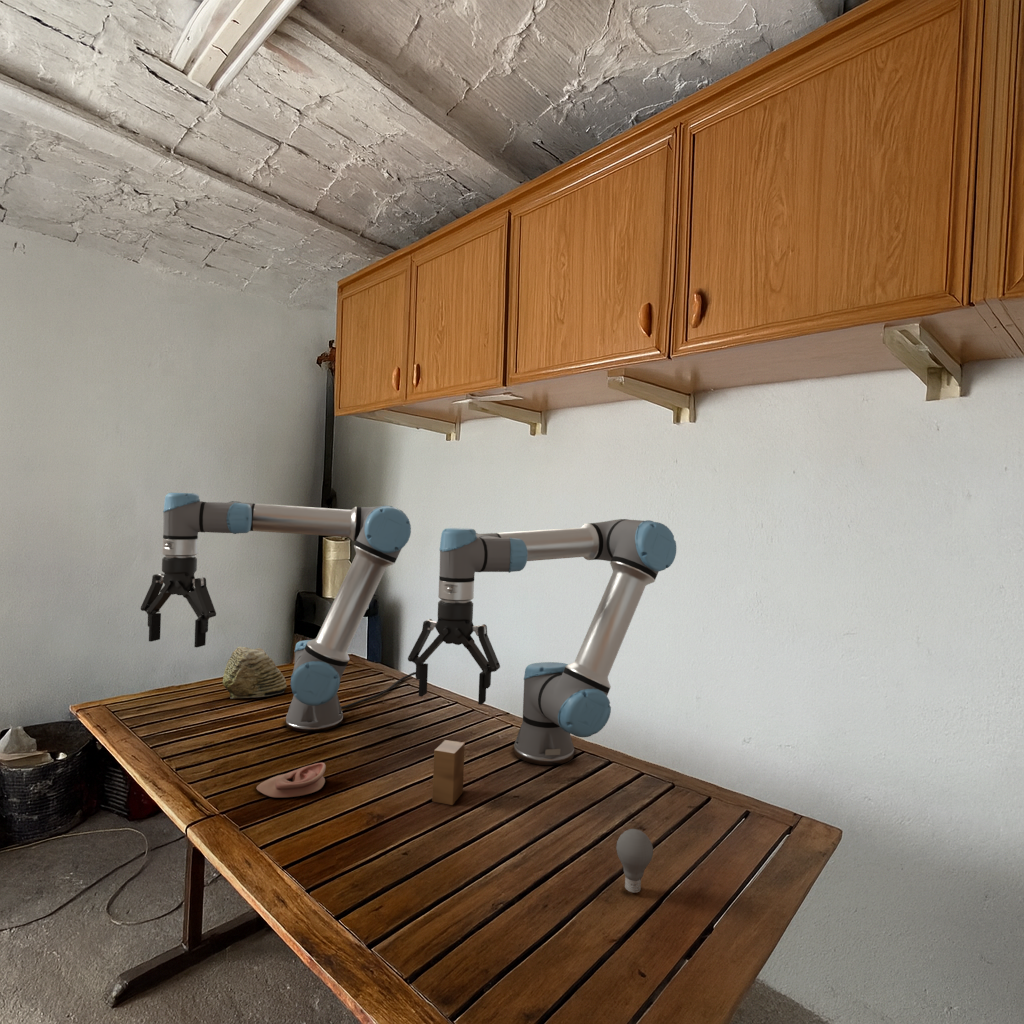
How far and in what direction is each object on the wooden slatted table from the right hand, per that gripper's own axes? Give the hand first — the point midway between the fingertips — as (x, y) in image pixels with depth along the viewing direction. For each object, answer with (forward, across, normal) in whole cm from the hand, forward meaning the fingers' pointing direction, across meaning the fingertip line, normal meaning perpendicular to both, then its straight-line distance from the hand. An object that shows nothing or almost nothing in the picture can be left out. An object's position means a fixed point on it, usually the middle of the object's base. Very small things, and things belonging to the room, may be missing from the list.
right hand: (451, 698), depth 136 cm
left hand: (-5, -71, -1) cm, 72 cm away
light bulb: (+21, +41, -20) cm, 50 cm away
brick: (+21, 0, 0) cm, 21 cm away
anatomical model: (+21, -33, -8) cm, 40 cm away
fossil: (+21, -81, +41) cm, 94 cm away
